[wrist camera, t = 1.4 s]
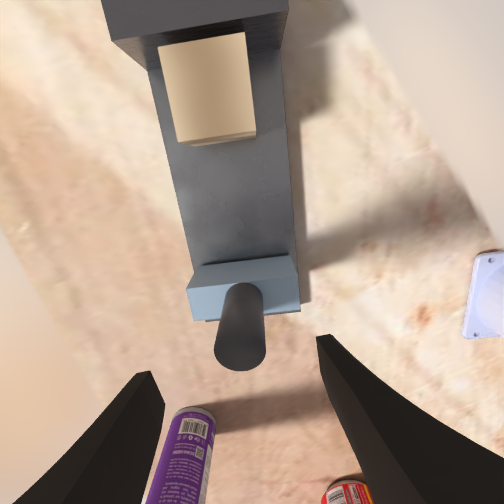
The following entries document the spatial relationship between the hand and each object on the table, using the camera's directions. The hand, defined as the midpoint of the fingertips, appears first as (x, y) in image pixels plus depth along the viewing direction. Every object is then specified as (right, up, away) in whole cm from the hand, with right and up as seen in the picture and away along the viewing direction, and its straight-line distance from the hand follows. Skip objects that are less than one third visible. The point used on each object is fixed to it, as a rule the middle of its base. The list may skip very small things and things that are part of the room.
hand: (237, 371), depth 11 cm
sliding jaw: (0, +3, +9) cm, 9 cm away
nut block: (-1, +14, +5) cm, 15 cm away
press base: (-1, +9, +8) cm, 12 cm away
